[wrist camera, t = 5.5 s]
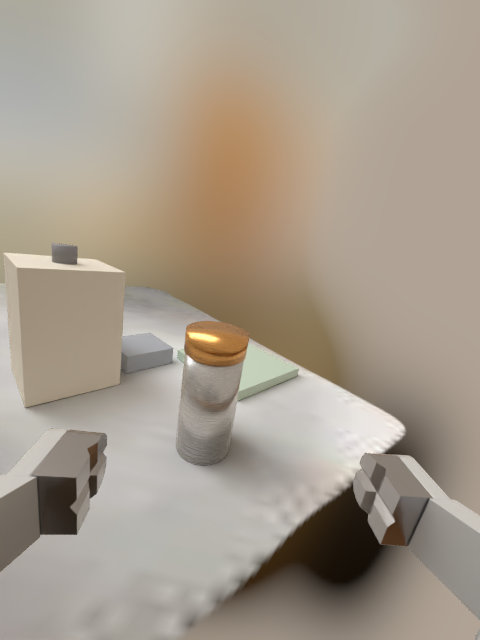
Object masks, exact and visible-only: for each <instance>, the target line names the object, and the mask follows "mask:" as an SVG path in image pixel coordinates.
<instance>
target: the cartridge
mask: <svg viewBox="0 0 480 640" xmlns="http://www.w3.org/2000/svg"><path fill="white" fill-rule="evenodd" d="M248 341H249V334H248V332H246V331H245V330H244V329H242V328H240V327H237V326H235V325H231V324H227V323H222V322H213V321H202V322H195V323H192V324H189V325H188V326H187V328H186V336H185V346H184V351H185V359H184V369H183V379H182V389H181V399H180V409H179V418H178V428H177V438H176V449H177V452H178V453H179V455H180V456H181V457H182V458H183V459H184V460H186V461H188V462H190V463H192V464H196V465H211V464H214V463H217V462H219V461H221V460H222V459H223V458H224V457H225V456H226V455H227V453H228V450H229V445H230V439H231V433H232V428H233V422H234V416H235V410H236V404H237V398H238V392H239V386H240V380H241V374H242V369H243V363H244V360H245V358H246V353H247V347H248Z"/></svg>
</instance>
